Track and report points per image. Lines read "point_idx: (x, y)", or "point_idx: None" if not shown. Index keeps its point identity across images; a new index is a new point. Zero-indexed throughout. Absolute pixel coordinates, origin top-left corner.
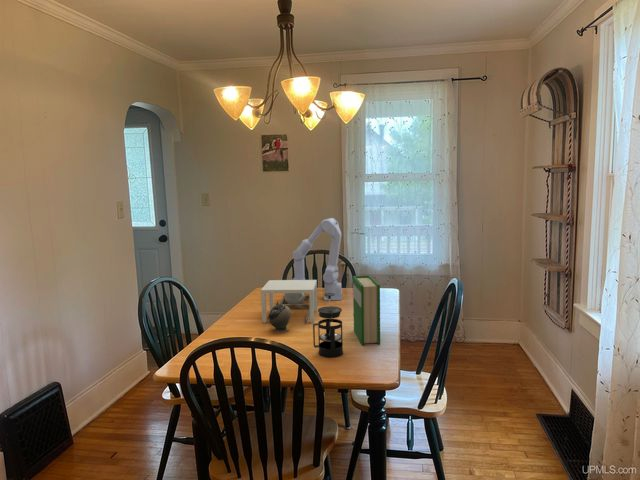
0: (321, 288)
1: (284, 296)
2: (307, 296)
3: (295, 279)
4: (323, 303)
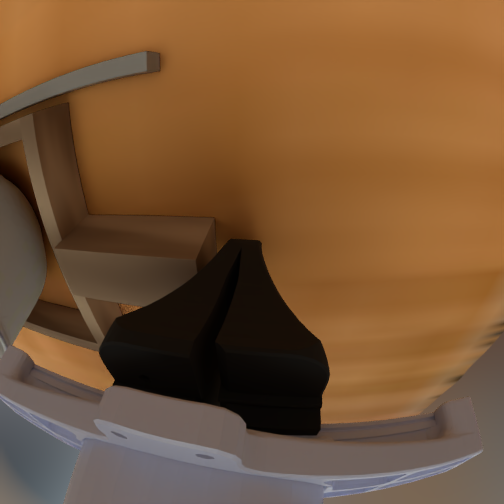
0: (453, 365)
1: (11, 125)
2: (91, 327)
3: (65, 428)
4: (90, 361)
